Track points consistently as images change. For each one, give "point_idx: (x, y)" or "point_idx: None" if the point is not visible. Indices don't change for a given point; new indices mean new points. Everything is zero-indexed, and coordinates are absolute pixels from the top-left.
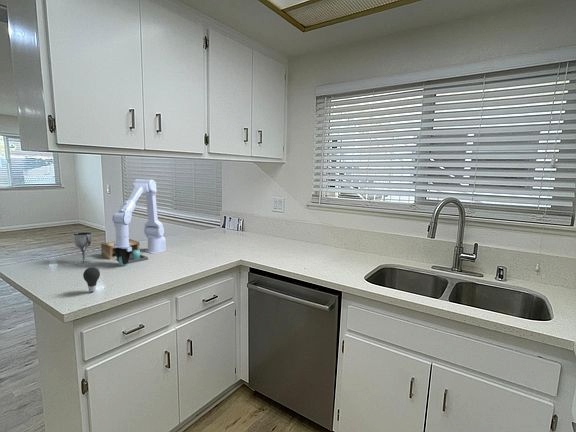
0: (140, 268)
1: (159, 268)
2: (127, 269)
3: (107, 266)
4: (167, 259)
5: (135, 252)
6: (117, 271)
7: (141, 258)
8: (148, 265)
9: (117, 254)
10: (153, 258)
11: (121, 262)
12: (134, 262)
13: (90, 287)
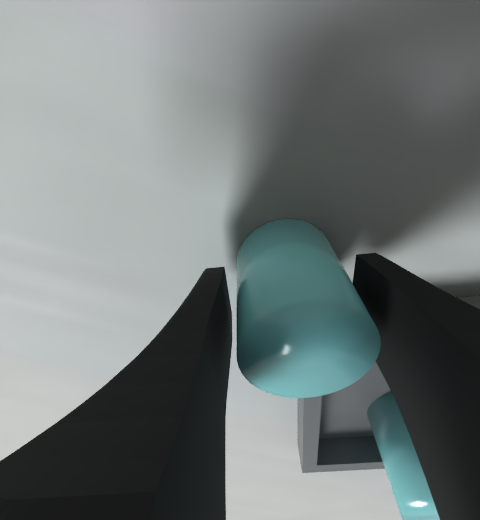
0: (66, 347)
1: (8, 430)
2: (81, 247)
3: (413, 66)
4: None
5: (414, 489)
6: (27, 106)
7: (304, 440)
8: None
9: (444, 341)
10: None
11: (253, 267)
12: None
13: None
